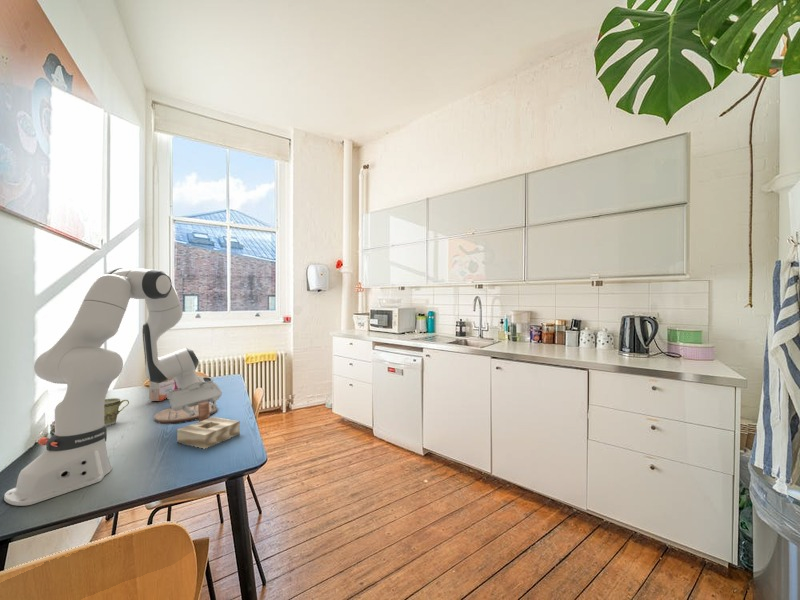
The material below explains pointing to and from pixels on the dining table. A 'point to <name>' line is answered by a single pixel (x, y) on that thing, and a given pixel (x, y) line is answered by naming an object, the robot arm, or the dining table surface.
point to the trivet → (179, 415)
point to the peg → (203, 410)
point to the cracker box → (160, 389)
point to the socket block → (208, 432)
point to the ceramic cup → (112, 410)
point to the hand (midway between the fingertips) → (204, 411)
